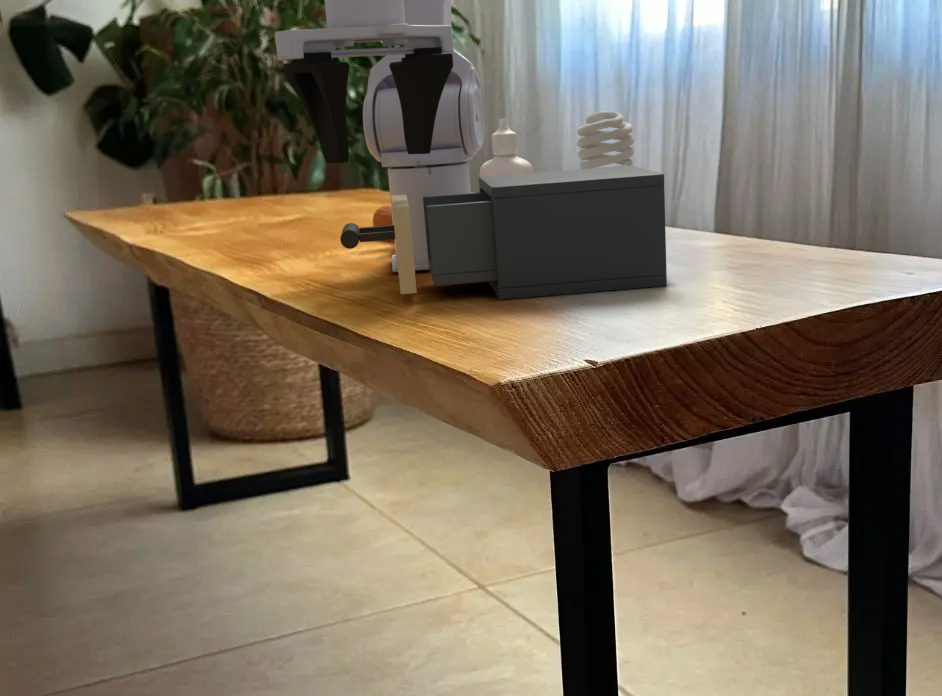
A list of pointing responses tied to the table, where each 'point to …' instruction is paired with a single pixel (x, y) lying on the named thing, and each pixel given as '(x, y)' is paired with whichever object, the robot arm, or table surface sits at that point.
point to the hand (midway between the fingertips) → (379, 158)
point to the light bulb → (596, 136)
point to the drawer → (439, 239)
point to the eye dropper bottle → (505, 154)
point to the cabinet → (577, 231)
